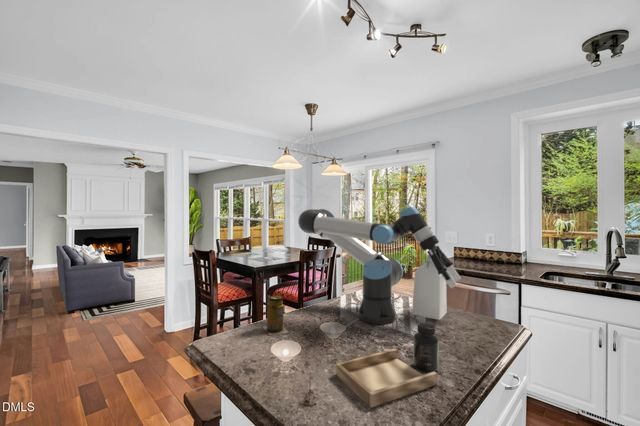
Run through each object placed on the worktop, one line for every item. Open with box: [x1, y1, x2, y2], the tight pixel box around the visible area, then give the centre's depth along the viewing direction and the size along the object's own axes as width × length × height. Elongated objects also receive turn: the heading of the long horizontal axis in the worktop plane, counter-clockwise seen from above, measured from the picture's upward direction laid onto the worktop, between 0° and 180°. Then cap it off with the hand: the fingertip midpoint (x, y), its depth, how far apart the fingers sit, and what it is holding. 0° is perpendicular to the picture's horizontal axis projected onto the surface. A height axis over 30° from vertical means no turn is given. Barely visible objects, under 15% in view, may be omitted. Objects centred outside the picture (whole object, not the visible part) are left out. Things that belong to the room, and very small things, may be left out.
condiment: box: [262, 295, 289, 336], centre depth 116 cm, size 7×8×12 cm
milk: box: [411, 253, 448, 321], centre depth 138 cm, size 12×12×26 cm
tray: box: [335, 348, 438, 408], centre depth 84 cm, size 21×16×3 cm
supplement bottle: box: [412, 322, 440, 374], centre depth 91 cm, size 7×7×12 cm
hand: (456, 283), depth 128 cm, fingers open, 13 cm apart
